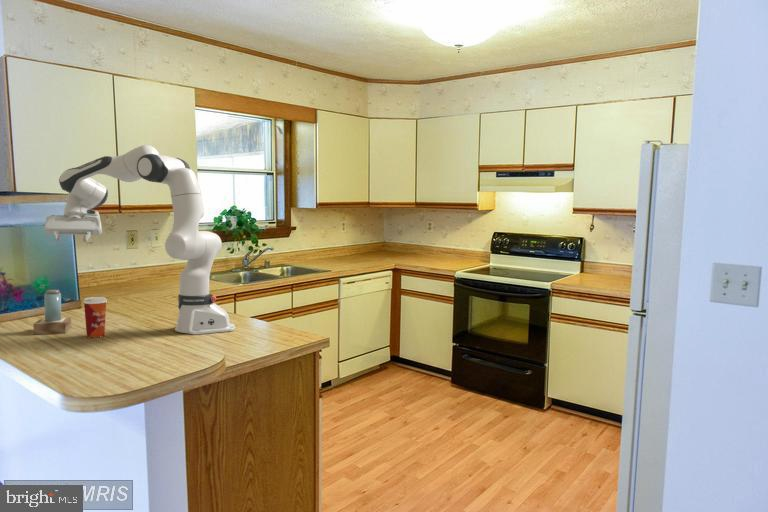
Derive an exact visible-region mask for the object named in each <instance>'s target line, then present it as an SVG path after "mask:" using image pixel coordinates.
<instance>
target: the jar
mask: <svg viewBox="0 0 768 512" xmlns="http://www.w3.org/2000/svg"><path fill="white" fill-rule="evenodd" d="M43 298H44V318H45V321H59V320H61V318H62V292H60V289H48V290H45V293H44V297H43Z"/></svg>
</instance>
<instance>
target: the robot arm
mask: <svg viewBox="0 0 768 512" xmlns="http://www.w3.org/2000/svg"><path fill="white" fill-rule="evenodd" d="M96 175H104V176H107V177H108V176H109V177H112V178H114V179H116V180H120V181H122V182H125V183H133V182H137V181H140V180H142V179H143V180H146V181H147V182H151V183H159V184H160V183H161V184H162V185H164V184H165V185H167V186H168V187H169V191H170V199H171V203H172V205H171V206H172V210H173V211H172V212H173V224H172V230H171V232H170V234H169V235H168V236H167V238H166V239H165V241H164V242H165V243H164V247H165V248H164V249H165V252H166V254H167V255H168V256H169V257H170V258H172V259H176V260H179V261H187V263H186V265H185V267H184V269H182V271H181V272H180V274H179V293H178V298H177V307H178V315H177V321H176V324H175V325H176V326H175V328H174V331H175V332H178V333H182V334H189V335H201V334H202V335H203V334H214V333H225V332H232V331H235V330H236V326H235V323H233V322H230V316H229V314H228V312H227V310H225V309H224V308H222V307H221V306H219V304H217V303H215V302H216V300H217V297H216V296H215V295H214V294H211V293H210V277H211V272H212V271H211V270H212V267H213V264H214V261H215V259H216V257H217V255H218V254H219V253H220V252H221V250H222V248H223V247H222V246H223V245H222V243H223V242H222V239H221V237H220V236H219V235H218V234H217V233H215V232H212V231H208V230H199V225H200V221H201V219H202V218H203V217H204V214H205V211H204V204H203V198H202V193H201V188H200V184H199V180H198V178H197V176H196V173H195V172H194V170H192V169H191V167H190V164H189V163H188V162H186V161H185V160H183V159H181V158H178V157H173V156H169V155H167V154H165V155H164V154H160V153H159V151H158V150H157V149H156V148H155V147H154V146H153V145H150V144H142V145H140V146H137V147H134V148H133V149H131V150H129V151H127V152H126V153H124V154H122V155H121V154H120V155H116V156H110V155H109V156H106V155H105V156H101V157H99V158H96V159H94V160H92V161H88V162H86V163H84V164H82V165H79V166H76V167H72V168H68V169H66V170H65V171H63V172H62V173H61V175H60V176H59V178H58V182H59V185H60V188H61V190H62V191H65V192H67V193H68V194H67V197H66V202H65V203H66V205H65V208H64V212H63V214H62V215H59V214H58V215H56V214H51V215H49V216H46V218H45V224H44V225H43V229H44V232H45V234H47V235H54V238H55V242H57V243H58V242H61V241H62V237H61V236H63V235H64V236H65V235H66V236H67V235H69V236H72V235H73V236H75V235H76V236H82V242H83V243H88V241H89V239H90V238H91V237H93V236H100V235H102V233H103V227H102V226H103V225H102V222H101V221H102V220H101V215H100V213H99V211H98V210H95V209H96V208H100V207H101V206H103V205H104V204H105V203H106V202H107V199H108V197H109V196H108V195H109V192H108V187H107V186H106V185H104V184H102V183H100V182H99V181H97V180H95V179H94V178H92V177H95V176H96Z"/></svg>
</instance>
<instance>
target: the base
mask: <svg viewBox="0 0 768 512" xmlns="http://www.w3.org/2000/svg"><path fill="white" fill-rule="evenodd" d="M71 328H72V317H61V320H59V321H45V317H43V318H39V319H38V320H37V321H35V322H34V323H33V335H34V336H36V335H37V336H39V335H59V334H66V333H68V332H69V330H70V329H71Z"/></svg>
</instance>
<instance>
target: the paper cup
mask: <svg viewBox="0 0 768 512" xmlns="http://www.w3.org/2000/svg"><path fill="white" fill-rule="evenodd" d="M82 303H83V306H84V307H83V308H84V318H85V329H86V330H85V331H86V338H88V337H98V338H101V337H100V336H103V337H104V336H105V332H106V330H105V329H106V315H107V303H108V300H107V298H106V297H105V296H94V297H93V296H91V297H86V298H84V300H83V302H82Z"/></svg>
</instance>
